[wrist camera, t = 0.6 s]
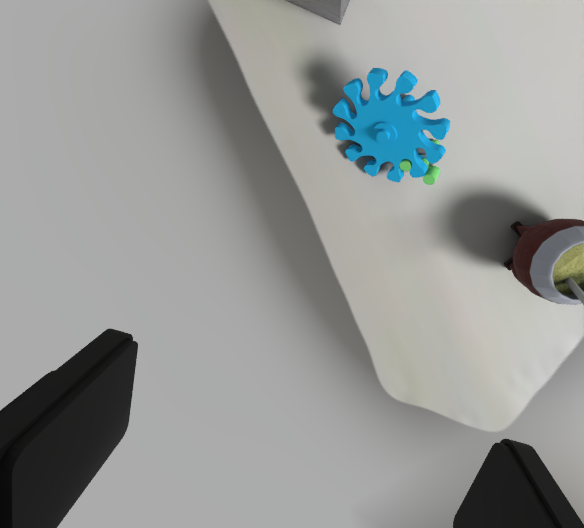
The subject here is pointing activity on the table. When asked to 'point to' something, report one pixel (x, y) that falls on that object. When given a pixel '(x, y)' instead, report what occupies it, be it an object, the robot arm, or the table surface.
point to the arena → (325, 8)
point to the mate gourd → (551, 259)
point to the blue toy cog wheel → (392, 127)
